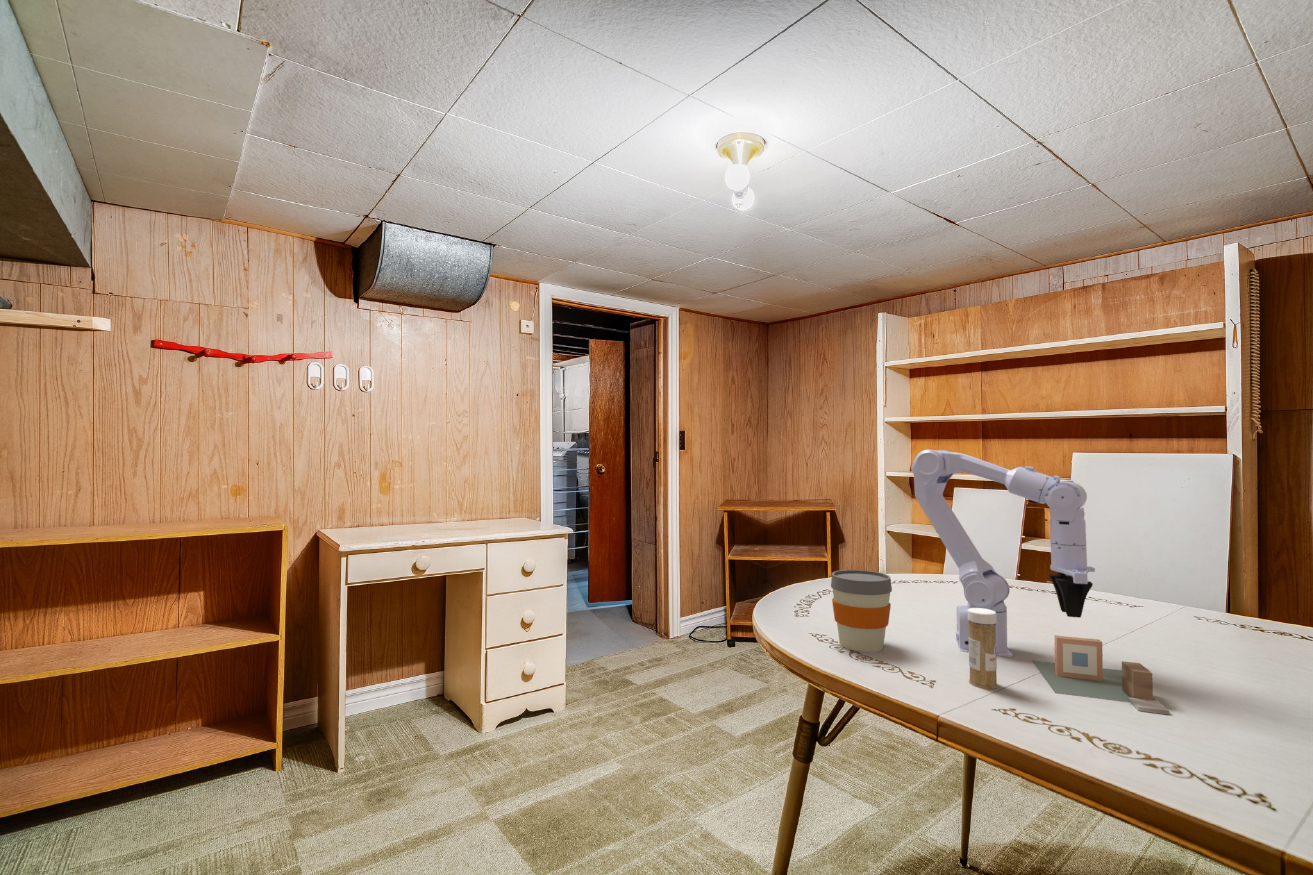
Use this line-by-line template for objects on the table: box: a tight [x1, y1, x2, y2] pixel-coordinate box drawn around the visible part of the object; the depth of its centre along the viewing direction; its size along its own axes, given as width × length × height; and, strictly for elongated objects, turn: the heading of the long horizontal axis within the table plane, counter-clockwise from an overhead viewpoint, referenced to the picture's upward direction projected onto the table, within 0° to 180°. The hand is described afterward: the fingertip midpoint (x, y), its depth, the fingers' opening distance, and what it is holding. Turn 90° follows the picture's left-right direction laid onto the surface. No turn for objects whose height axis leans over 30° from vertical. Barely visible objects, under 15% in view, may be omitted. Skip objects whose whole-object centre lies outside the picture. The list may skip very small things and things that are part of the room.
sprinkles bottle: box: [968, 608, 998, 690], centre depth 106 cm, size 5×5×14 cm
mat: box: [1031, 660, 1158, 703], centre depth 107 cm, size 15×17×1 cm
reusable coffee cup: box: [830, 569, 893, 653], centre depth 128 cm, size 13×13×15 cm
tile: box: [1053, 634, 1104, 681], centre depth 109 cm, size 7×2×7 cm, turn 69°
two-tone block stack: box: [1121, 660, 1170, 715], centre depth 98 cm, size 9×4×5 cm, turn 159°
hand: (1070, 614), depth 114 cm, fingers open, 3 cm apart
